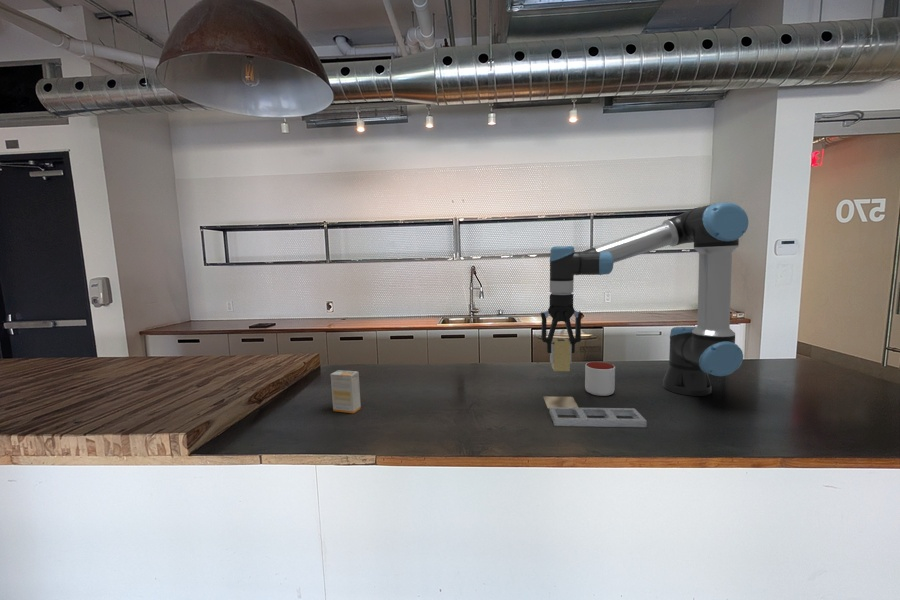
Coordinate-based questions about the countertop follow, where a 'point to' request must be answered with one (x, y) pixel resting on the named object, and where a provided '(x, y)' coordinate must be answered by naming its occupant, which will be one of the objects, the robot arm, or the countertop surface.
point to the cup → (600, 378)
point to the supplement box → (345, 391)
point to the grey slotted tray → (608, 421)
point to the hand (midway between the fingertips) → (560, 362)
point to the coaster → (560, 402)
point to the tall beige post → (561, 354)
